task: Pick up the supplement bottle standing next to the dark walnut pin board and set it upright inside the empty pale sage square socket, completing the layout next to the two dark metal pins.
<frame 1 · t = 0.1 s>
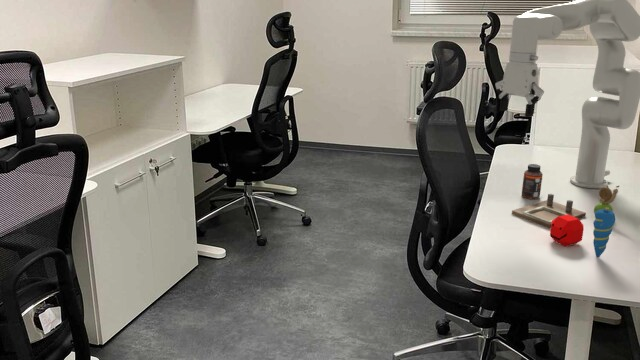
hand: (515, 113, 191), 31 cm above the table, tool pointing down, fingers open, 9 cm apart
pin board: (548, 215, 195), on the table
ball: (564, 243, 175), on the table
snail figurine: (603, 220, 192), on the table
supplement bottle: (530, 197, 210), on the table
ornament: (597, 258, 165), on the table
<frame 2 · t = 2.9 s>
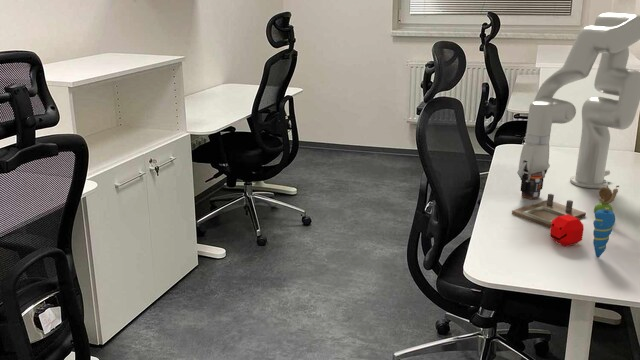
hand: (531, 189, 210), 3 cm above the table, tool pointing down, fingers closed on supplement bottle, 6 cm apart
supplement bottle: (530, 197, 210), on the table, touching gripper
everything else where it was.
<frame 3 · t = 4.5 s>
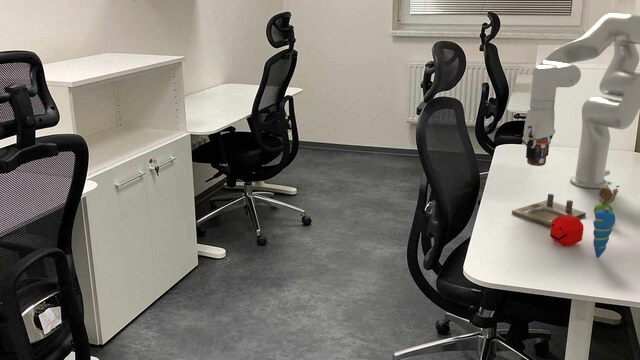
hand: (537, 156, 206), 14 cm above the table, tool pointing down, fingers closed on supplement bottle, 6 cm apart
supplement bottle: (536, 164, 207), point 12 cm above the table, touching gripper
everything else where it was.
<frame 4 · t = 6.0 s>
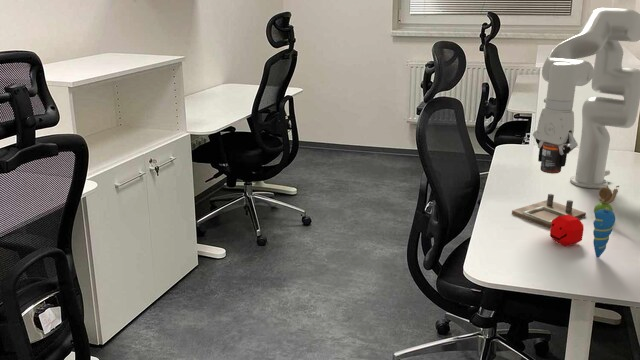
hand: (551, 163, 187), 18 cm above the table, tool pointing down, fingers closed on supplement bottle, 6 cm apart
supplement bottle: (550, 171, 188), point 15 cm above the table, touching gripper
everything else where it was.
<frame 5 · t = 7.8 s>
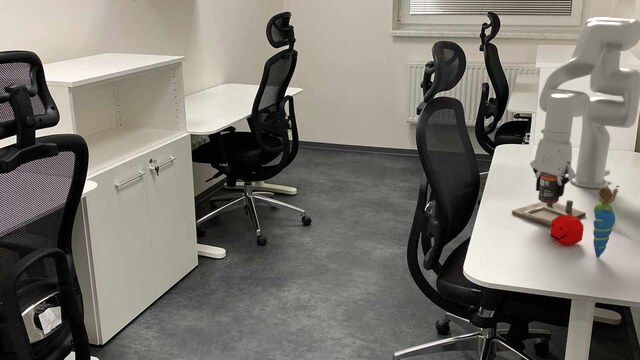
hand: (549, 192, 188), 9 cm above the table, tool pointing down, fingers closed on supplement bottle, 6 cm apart
supplement bottle: (548, 201, 189), point 6 cm above the table, touching gripper
everything else where it was.
when the fingers open (5 cm above the table, at t = 9.1 s): supplement bottle stays where it is, resting on pin board.
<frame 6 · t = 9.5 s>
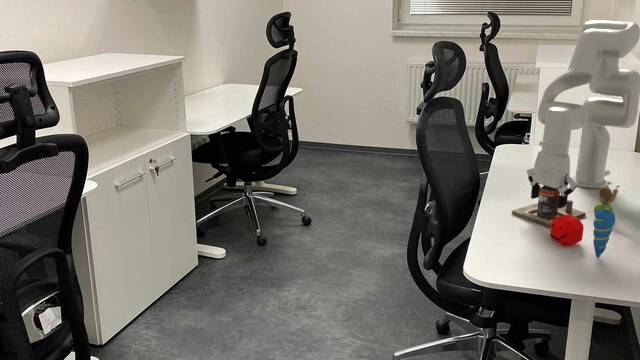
hand: (547, 202, 189), 6 cm above the table, tool pointing down, fingers open, 9 cm apart
supplement bottle: (546, 216, 191), point 1 cm above the table, touching pin board
everything else where it was.
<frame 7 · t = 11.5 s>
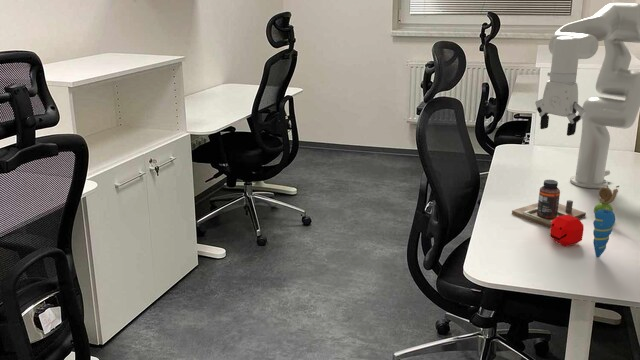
hand: (557, 131, 195), 25 cm above the table, tool pointing down, fingers open, 9 cm apart
nothing on the table moved.
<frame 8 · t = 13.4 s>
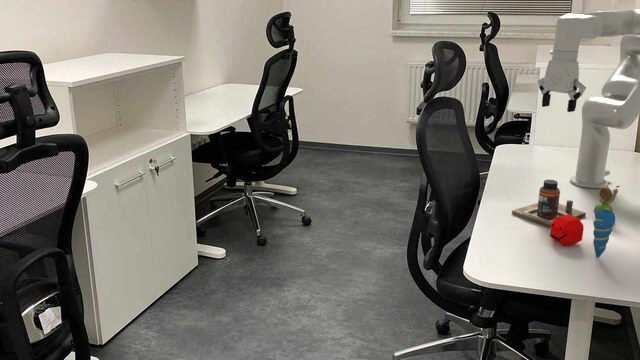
hand: (557, 108, 202), 30 cm above the table, tool pointing down, fingers open, 9 cm apart
nothing on the table moved.
at the end: supplement bottle 0.2 cm from the target spot on the pin board, point 1.0 cm above the pin board's base; supplement bottle tilted 0°; the gripper is holding nothing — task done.
